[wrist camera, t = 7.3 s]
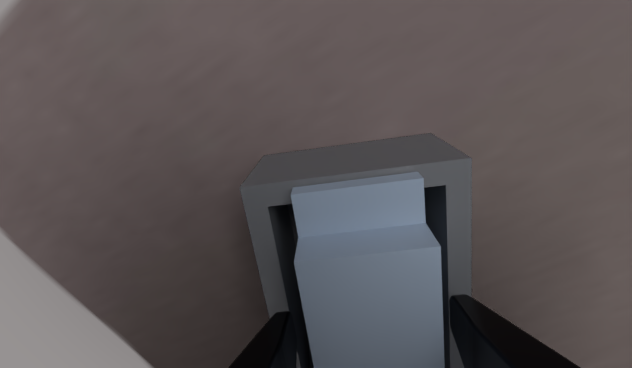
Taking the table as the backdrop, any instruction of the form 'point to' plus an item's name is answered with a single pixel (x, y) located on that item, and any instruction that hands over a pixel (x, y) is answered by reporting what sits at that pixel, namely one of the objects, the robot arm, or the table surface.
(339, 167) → the pocket block
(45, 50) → the table surface
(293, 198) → the block
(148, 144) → the table surface
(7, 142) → the table surface
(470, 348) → the robot arm
